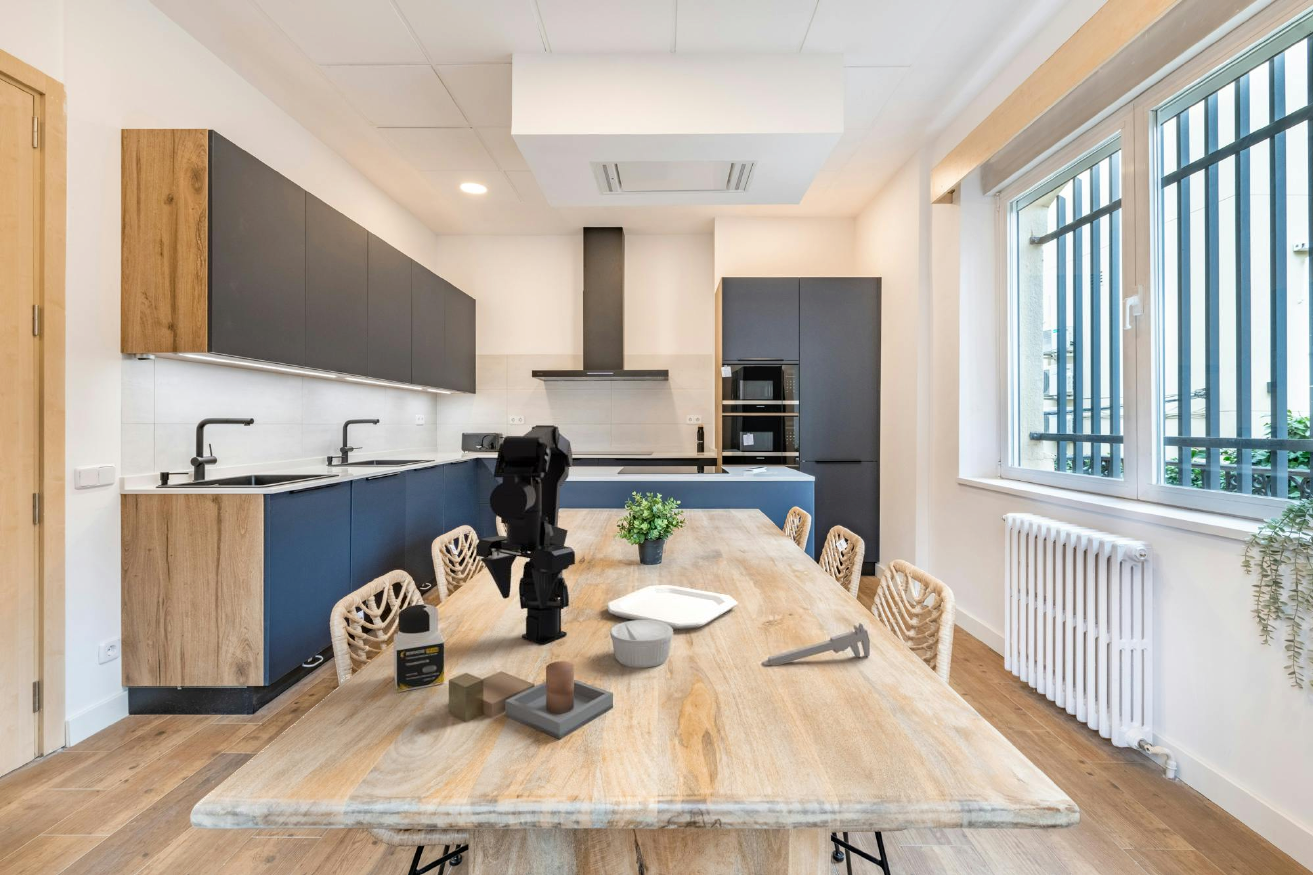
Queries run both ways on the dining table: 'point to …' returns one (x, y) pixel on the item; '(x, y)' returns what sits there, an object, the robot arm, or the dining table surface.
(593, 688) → the tray
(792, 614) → the dining table surface
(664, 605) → the plate
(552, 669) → the dowel
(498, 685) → the board
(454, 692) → the rectangular block
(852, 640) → the caliper
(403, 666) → the medicine bottle
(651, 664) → the ramekin
